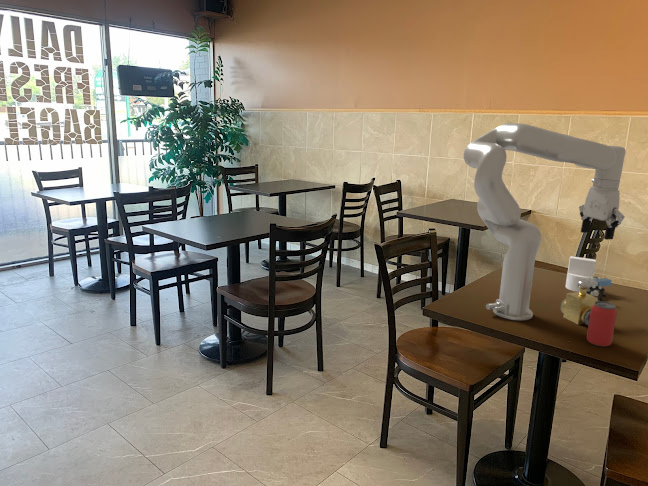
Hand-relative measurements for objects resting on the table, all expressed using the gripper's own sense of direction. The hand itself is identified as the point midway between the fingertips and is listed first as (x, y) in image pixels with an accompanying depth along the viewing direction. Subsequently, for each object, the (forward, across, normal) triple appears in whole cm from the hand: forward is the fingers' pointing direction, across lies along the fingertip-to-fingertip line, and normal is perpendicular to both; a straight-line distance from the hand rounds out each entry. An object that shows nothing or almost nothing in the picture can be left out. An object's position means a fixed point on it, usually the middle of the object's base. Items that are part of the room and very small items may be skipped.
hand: (596, 235), depth 169 cm
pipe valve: (+26, +7, -9) cm, 29 cm away
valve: (+26, -8, +14) cm, 31 cm away
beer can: (+27, +22, -16) cm, 38 cm away
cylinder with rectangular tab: (+26, -18, +16) cm, 35 cm away
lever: (+15, +7, -5) cm, 17 cm away
